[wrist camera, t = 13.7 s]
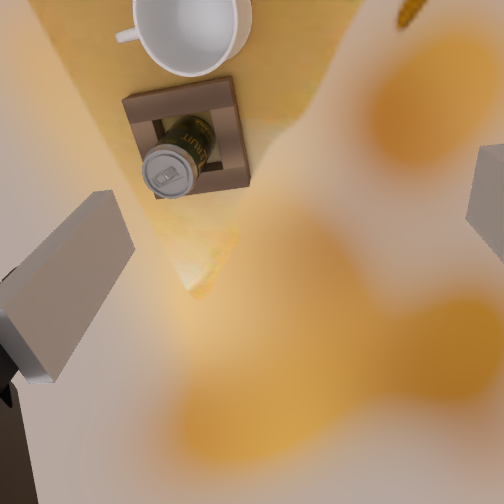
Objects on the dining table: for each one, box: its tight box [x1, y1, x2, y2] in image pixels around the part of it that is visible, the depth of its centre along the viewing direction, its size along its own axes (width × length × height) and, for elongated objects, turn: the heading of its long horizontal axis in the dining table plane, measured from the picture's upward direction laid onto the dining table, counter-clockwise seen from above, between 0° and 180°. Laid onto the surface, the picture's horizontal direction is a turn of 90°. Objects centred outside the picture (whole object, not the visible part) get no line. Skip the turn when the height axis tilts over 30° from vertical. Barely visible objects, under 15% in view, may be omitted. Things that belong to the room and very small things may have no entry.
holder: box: [122, 76, 251, 199], centre depth 43 cm, size 12×12×3 cm
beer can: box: [142, 117, 214, 199], centre depth 40 cm, size 5×5×12 cm
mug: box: [115, 0, 252, 77], centre depth 33 cm, size 12×8×12 cm
